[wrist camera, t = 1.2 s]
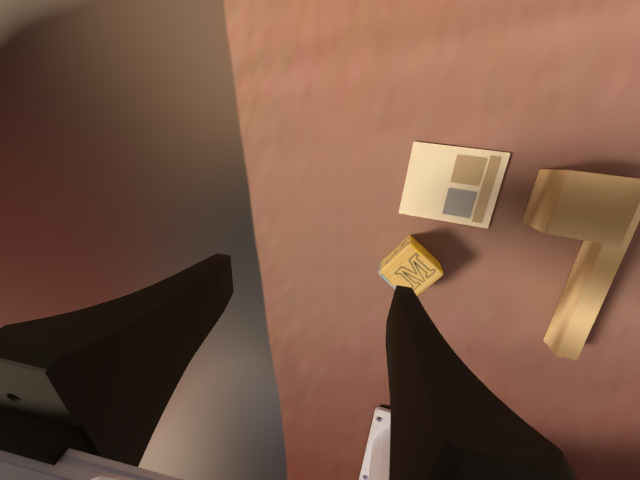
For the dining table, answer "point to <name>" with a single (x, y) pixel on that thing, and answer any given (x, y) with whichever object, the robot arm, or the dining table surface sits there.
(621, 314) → the dining table surface
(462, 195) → the card
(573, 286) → the backstop
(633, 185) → the maple cube
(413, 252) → the alphabet block
